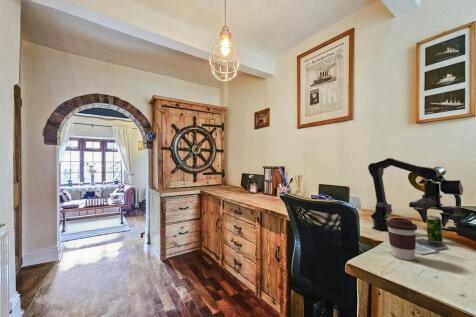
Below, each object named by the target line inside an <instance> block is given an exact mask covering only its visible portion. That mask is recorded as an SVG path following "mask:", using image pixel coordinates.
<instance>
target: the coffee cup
mask: <svg viewBox="0 0 476 317" xmlns="http://www.w3.org/2000/svg"><path fill="white" fill-rule="evenodd" d="M386 225H387V226H388V229H389V230H387V232H388V240H389V245H390V251H391V255H392V256H393V257H394V258H397V259H399V260H400V259H401V260H405V261H413V260H415V254H416V253H415V248H416V239H417V238H416V237H417V234H416V231H417V230H418V225H417V224H415V223H413V221H412V220H411V219H408V218H403V217H391V218H390V219H389V220H387V222H386Z"/></svg>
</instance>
